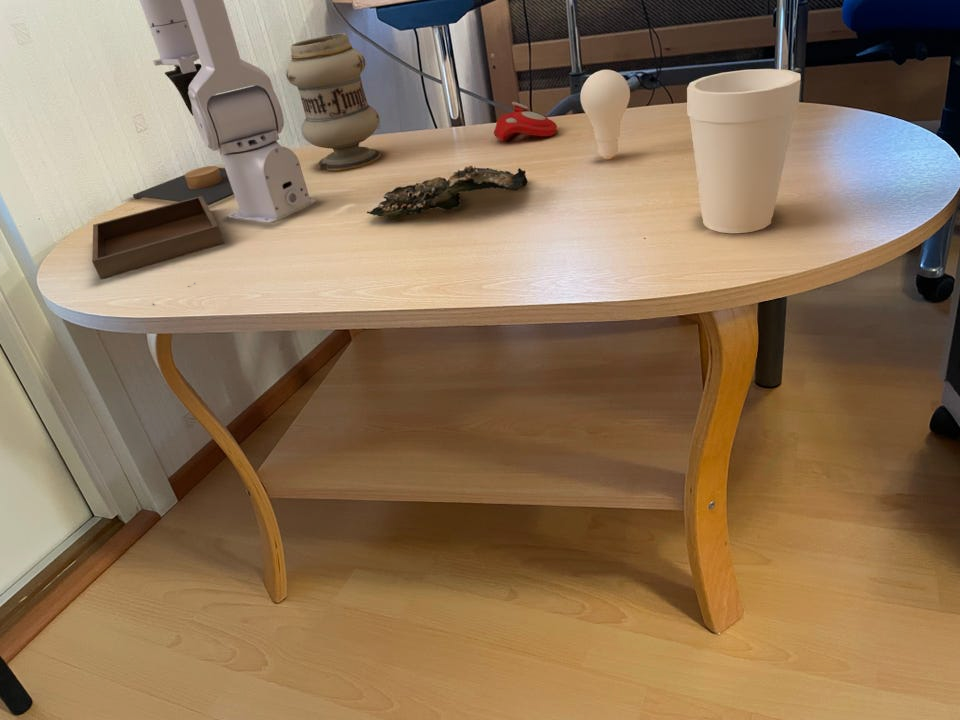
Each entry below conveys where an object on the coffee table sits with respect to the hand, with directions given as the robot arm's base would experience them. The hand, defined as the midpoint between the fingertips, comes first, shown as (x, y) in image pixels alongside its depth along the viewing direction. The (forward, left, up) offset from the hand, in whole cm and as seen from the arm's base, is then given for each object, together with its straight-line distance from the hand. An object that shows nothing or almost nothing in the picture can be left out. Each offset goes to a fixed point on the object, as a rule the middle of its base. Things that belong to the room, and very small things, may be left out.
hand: (201, 117), depth 110 cm
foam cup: (-84, +1, -10) cm, 85 cm away
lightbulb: (-62, -16, -10) cm, 65 cm away
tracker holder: (-43, -27, -10) cm, 52 cm away
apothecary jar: (-20, -10, -10) cm, 24 cm away
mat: (-3, +5, -9) cm, 11 cm away
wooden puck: (-3, +5, -9) cm, 11 cm away
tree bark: (-50, +3, -10) cm, 51 cm away
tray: (-19, +24, -9) cm, 32 cm away
